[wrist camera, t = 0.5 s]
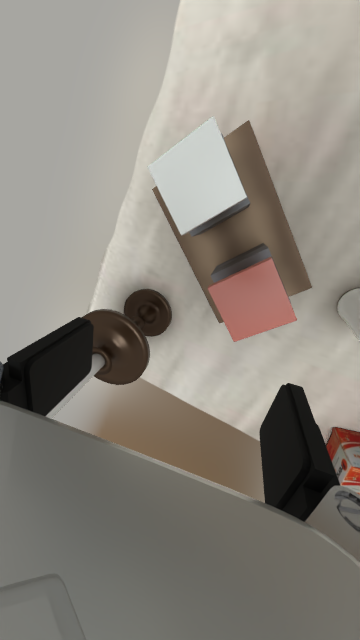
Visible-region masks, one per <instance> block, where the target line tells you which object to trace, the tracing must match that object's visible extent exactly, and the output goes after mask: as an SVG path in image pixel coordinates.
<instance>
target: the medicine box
mask: <svg viewBox="0 0 360 640" xmlns="http://www.w3.org/2000/svg"><path fill="white" fill-rule="evenodd" d="M332 431H333V432H332V435H331V437H330V439H329V442H328V444H327V446H326V447H327V450H328V453H329V455H330V458H331V461H332V464H333V466H334V469H335V472H336V474H337V477H338V480H339V482H340V485H341V486H344V487H347V488H349V489H351V490H353V491H355V492H356V493H357V494H359V495H360V432H356V431H351V430H346V429H342V428H337V427H335V428H334V427H333V429H332Z"/></svg>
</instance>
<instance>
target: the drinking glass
mask: <svg viewBox="0 0 360 640" xmlns="http://www.w3.org/2000/svg"><path fill="white" fill-rule="evenodd" d="M337 310H338V313H339V315H340V317H341V318H342V319H343V320H344V321H345V322H346V324H347V325H348V326H349V328H350V329H351V330H352V332H353V333H354V335H355V336H356V338H357V339H358V340H359V342H360V288H357V289H353V290H351V291H349V292H347V293H346V294H344V295H343V296H342V297H341V299H340V300H339V302H338V306H337Z"/></svg>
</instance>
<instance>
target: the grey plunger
mask: <svg viewBox="0 0 360 640" xmlns="http://www.w3.org/2000/svg"><path fill="white" fill-rule="evenodd" d="M148 169H149V171H150V173H151V175H152V177H153V179H154V181H155V183H156V185H157V188H158V190H159V192H160V194H161V196H162V198H163V200H164V202H165V204H166V206H167V208H168V210H169V212H170V214H171V216H172V218H173V220H174V222H175V224H176V226H177V228H178V230H179V232H180V234H181V235H185V234H186V233H188V232H190V231H192V230H193V229H195V228H197V227H198V226H200V225H202V224H204V223H205V222H207V221H209V220H210V219H212V218H214V217H216V216H217V215H219V214H221V213H222V212H224V211H226V210H228V209H229V208H231V207H233V206H234V205H236V204H238V203H240V202H241V201H243V200H245V199H246V198H247V196H246V194H245V191H244V189H243V186H242V184H241V181H240V179H239V177H238V174H237V172H236V169H235V167H234V164H233V162H232V159H231V157H230V155H229V152H228V150H227V147H226V145H225V142H224V140H223V137H222V135H221V133H220V130H219V128H218V125H217V123H216V120H215V118H214V116H212V117H211V118H210V119H208V120H207V121H206V122H205V123H203V124H202V125H201V126H199V127H198V128H197V129H195V130H194V131H193V132H192V133H190V134H189V135H188V136H186V137H185V138H184V139H183V140H181V141H180V142H179V143H177V144H176V145H175V146H173V147H172V148H171V149H170V150H168V151H167V152H166V153H164V154H163V155H162V156H160V157H159V158H158V159H157V160H155V161H154V162H153V163H151V164H150V165H149V166H148Z"/></svg>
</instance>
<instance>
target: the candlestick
mask: <svg viewBox="0 0 360 640" xmlns="http://www.w3.org/2000/svg"><path fill="white" fill-rule="evenodd" d="M124 314H125V315H124ZM124 314H122V313H120V312H117V311H113V310H108V309H100V310H95V311H92V312H90V313H88V314H86V315H85V316H83V317H82V318H84V319H87V320H90V321H91V324H93V326H94V332H93V352H92V368H91V371H90V373H89V374H88V375H87V376H86V377H85V378H84V379H83V380H82V381H81V382H80V383H79V384H78V385H77V386H76V387H75V388H74V389H73V390H72V391H71V392H70V393H69V394H68V395H67V396H66V397H65V398H64V399H63V400H62V401H61V402H60V403H59V404H58V405H57V406H56V407H55V408H54V409H53V410H52V411H51V412H50V413H48V414H47V415H46V416H45V417H48V418H50V419H52V418H53V417H54V416H55V415H56V414H57V413H58V412H59V411H60V410H61V408H63V406H65V404H66V403H67V402H68V401H69V400H70V399H71V398H72V397H73V396H74V395H75V394H76V393H77V392H78V391H79V390H80V389H81V388H82V387H83V386H84V385H85V384H86V383H87V382H88V381H89V380H90V379H91V378H92V377H93V376H95V377H96V378H98V379H100V380H102V381H104V382H107V383H110V384H116V385H124V384H128V383H131V382H133V381H135V380H137V379H138V378H139V377H140V376H141V375H142V373H143V372H144V371H145V369H146V368H147V365H148V363H149V358H150V349H149V345H148V341H147V339H146V337H145V336H157V335H160V334H161V333H163V332H164V331H165V330H166V329H167V327H168V326H169V325H170V322H171V318H172V312H171V307H170V305H169V303H168V301H167V300H166V299H165V298H164V297H163V296H162V295H161V294H160V293H158V292H156V291H154V290H150V289H141V290H138V291H136V292H134V293H133V294H131V295H130V296H129V297H128V298H127V300H126V302H125V306H124Z"/></svg>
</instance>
